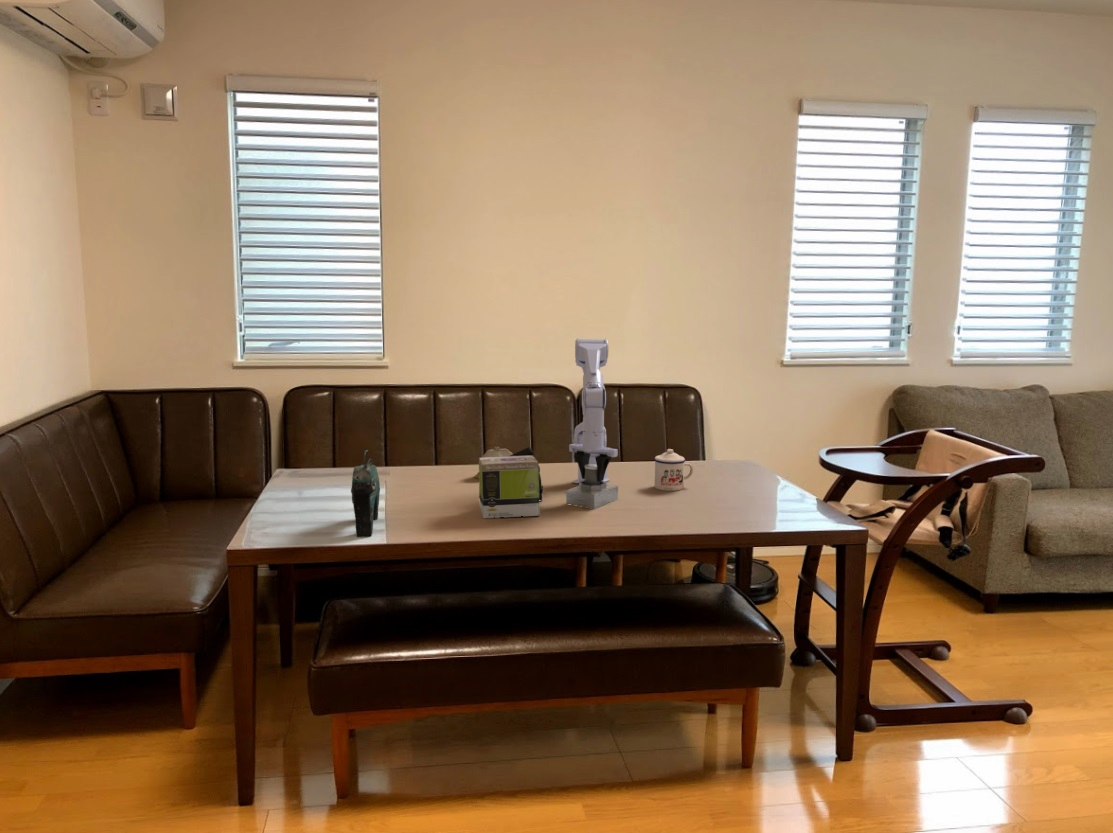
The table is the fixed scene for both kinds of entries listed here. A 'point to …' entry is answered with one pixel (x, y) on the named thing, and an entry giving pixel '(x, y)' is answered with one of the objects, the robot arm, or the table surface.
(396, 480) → the table surface
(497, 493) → the tea box
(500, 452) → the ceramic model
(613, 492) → the square base socket
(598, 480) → the robot arm
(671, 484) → the teacup with lid
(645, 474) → the table surface
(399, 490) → the table surface
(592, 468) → the cup
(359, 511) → the ceramic cat
